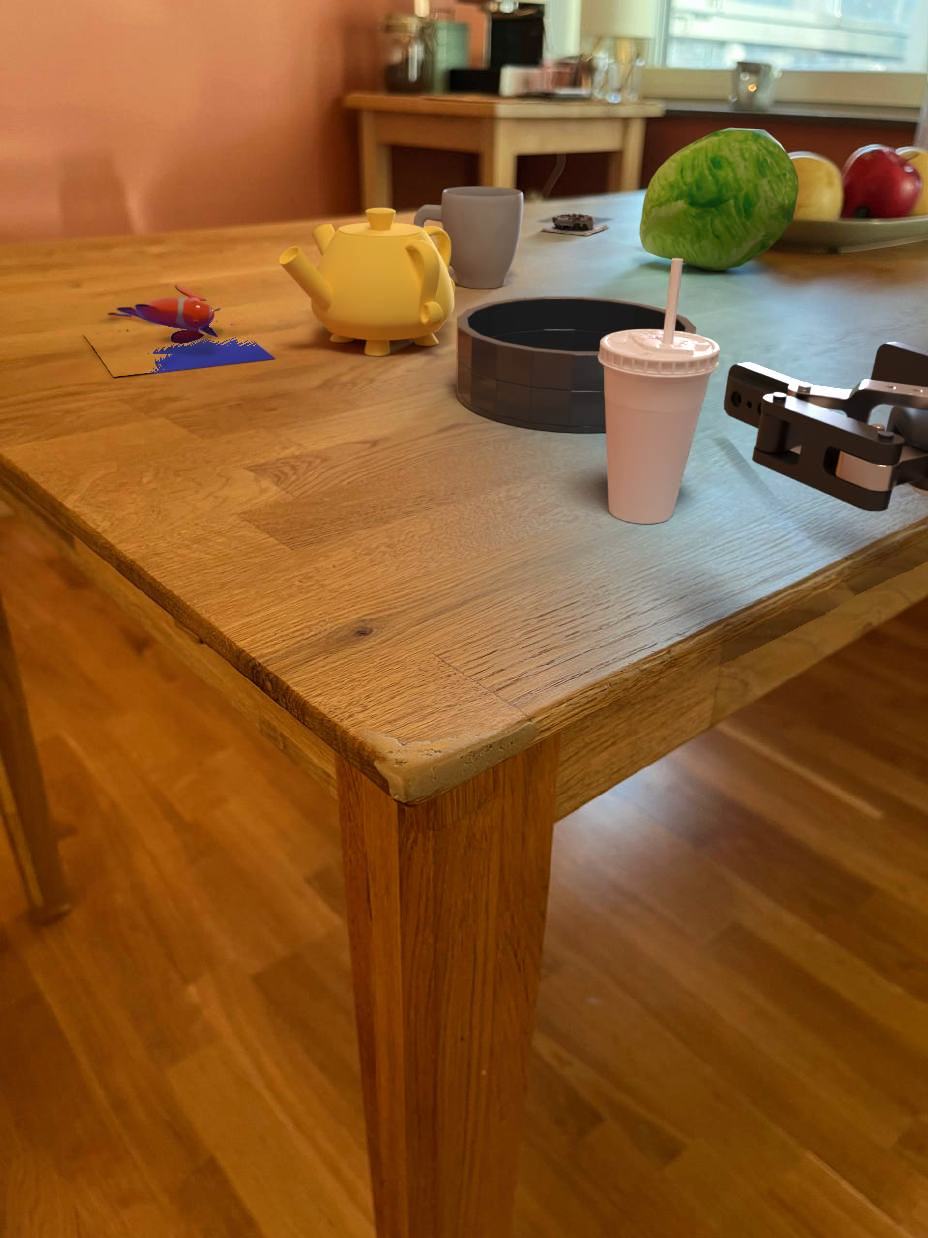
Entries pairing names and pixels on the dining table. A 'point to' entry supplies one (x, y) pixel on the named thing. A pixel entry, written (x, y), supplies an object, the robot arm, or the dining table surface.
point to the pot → (544, 358)
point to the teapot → (377, 281)
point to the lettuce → (720, 200)
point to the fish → (190, 333)
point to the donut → (574, 225)
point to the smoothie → (652, 410)
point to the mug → (479, 232)
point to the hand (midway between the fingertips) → (808, 375)
